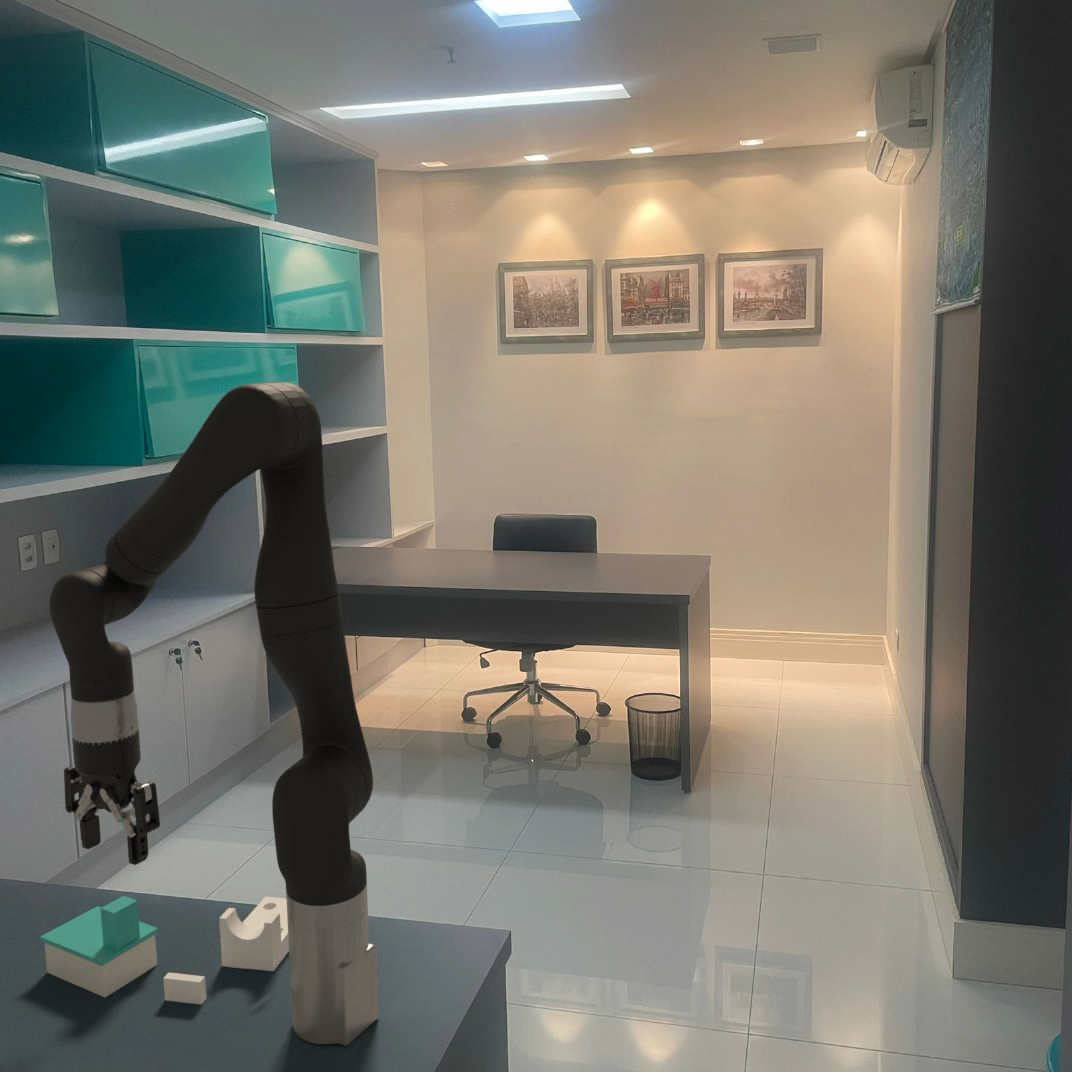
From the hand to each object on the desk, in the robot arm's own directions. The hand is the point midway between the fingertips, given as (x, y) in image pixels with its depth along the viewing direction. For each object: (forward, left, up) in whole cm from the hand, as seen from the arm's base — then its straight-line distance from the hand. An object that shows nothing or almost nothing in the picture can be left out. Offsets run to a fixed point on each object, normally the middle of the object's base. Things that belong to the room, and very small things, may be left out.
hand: (114, 853), depth 130 cm
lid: (+4, 0, -12) cm, 13 cm away
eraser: (-10, -1, -18) cm, 21 cm away
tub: (+4, 0, -17) cm, 18 cm away
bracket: (-10, -15, -18) cm, 25 cm away
